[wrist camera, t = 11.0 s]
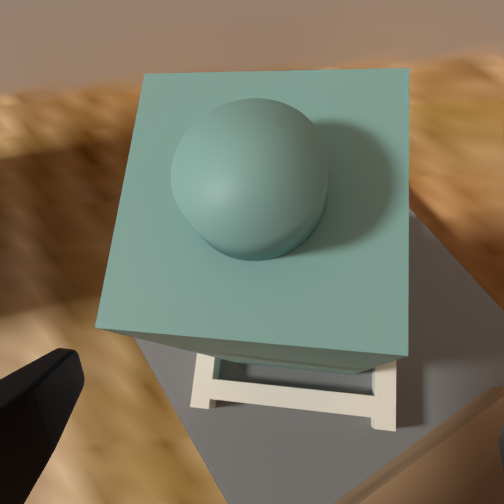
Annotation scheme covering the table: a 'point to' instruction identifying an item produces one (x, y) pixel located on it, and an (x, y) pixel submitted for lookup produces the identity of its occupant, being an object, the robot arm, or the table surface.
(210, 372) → the baseboard
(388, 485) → the walnut base slab
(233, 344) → the teal post
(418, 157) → the table surface
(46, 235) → the table surface
